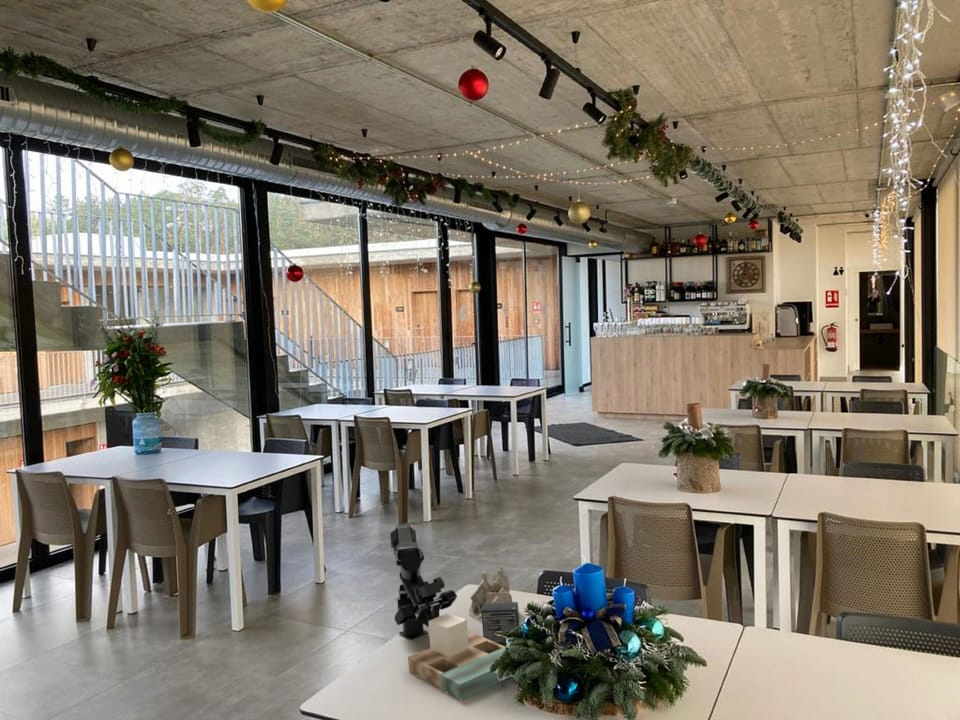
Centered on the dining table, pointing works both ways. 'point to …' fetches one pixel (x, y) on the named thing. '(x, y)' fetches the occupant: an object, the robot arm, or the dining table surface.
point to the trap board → (459, 667)
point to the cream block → (448, 635)
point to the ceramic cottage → (490, 593)
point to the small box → (499, 620)
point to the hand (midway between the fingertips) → (439, 633)
